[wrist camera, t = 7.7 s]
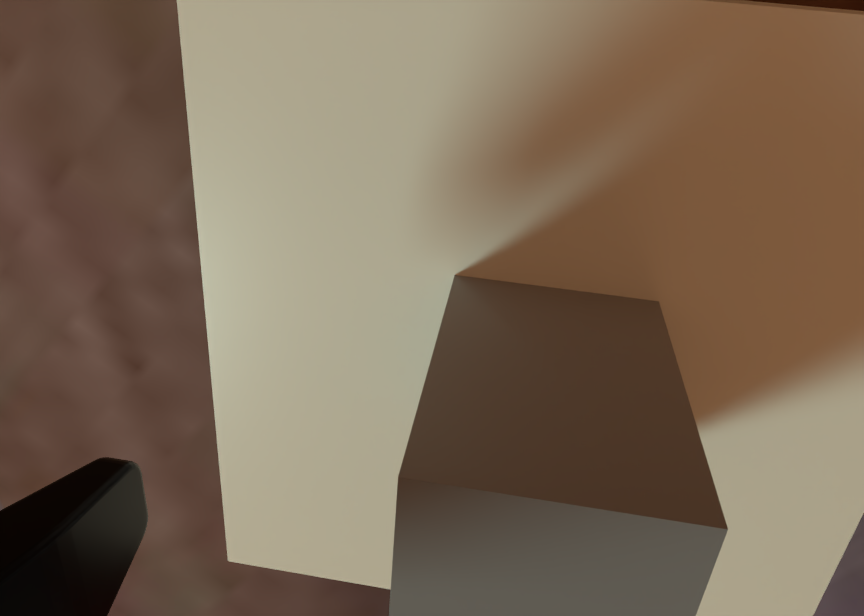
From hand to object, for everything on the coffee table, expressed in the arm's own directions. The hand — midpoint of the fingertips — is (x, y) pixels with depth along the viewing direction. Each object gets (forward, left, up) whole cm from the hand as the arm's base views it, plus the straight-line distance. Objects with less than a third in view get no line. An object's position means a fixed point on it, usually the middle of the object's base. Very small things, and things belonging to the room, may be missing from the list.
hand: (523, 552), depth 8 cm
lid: (0, 0, -5) cm, 5 cm away
